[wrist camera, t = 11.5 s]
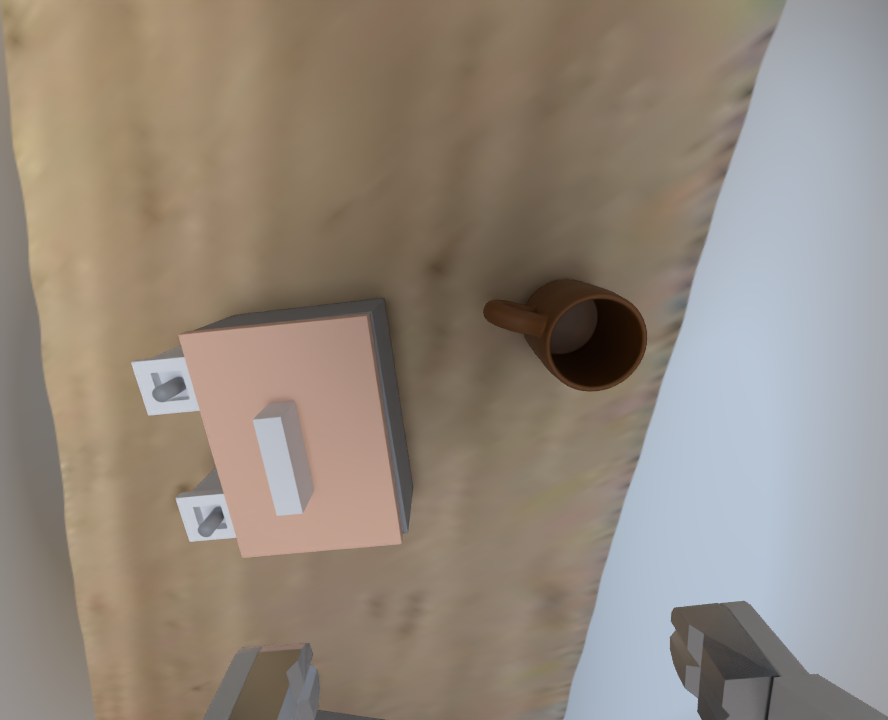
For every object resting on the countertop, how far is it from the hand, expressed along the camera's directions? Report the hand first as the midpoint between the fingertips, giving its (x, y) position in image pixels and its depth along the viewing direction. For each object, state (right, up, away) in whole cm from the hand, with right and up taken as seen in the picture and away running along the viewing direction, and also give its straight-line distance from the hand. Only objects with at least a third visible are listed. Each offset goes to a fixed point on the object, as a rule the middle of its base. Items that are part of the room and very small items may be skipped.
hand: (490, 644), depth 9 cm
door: (-15, 0, +25) cm, 29 cm away
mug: (+8, +11, +30) cm, 32 cm away
